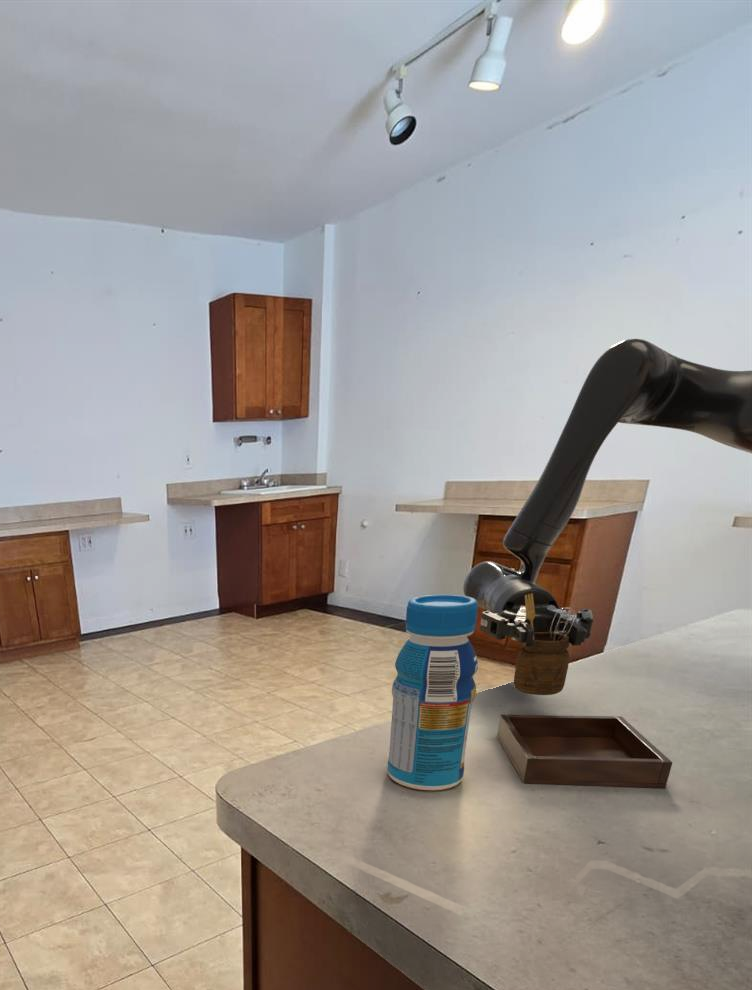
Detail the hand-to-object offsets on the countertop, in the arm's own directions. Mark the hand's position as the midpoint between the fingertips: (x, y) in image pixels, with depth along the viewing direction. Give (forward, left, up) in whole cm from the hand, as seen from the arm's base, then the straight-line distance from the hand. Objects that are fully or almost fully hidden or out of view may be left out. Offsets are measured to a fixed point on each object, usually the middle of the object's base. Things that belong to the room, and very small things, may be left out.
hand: (554, 638), depth 79 cm
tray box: (-1, +10, -12) cm, 16 cm away
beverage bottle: (+16, +16, -12) cm, 26 cm away
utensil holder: (0, -3, -8) cm, 8 cm away
